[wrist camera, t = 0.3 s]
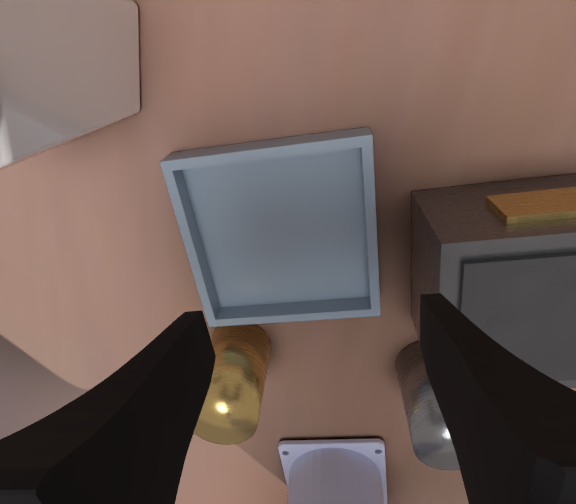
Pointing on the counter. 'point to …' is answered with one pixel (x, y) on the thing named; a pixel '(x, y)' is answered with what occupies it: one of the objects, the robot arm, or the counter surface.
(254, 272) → the tray
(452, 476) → the counter surface
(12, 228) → the counter surface
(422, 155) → the counter surface
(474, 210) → the unit
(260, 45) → the counter surface
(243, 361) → the part brass
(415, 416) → the part grey
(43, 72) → the jar
